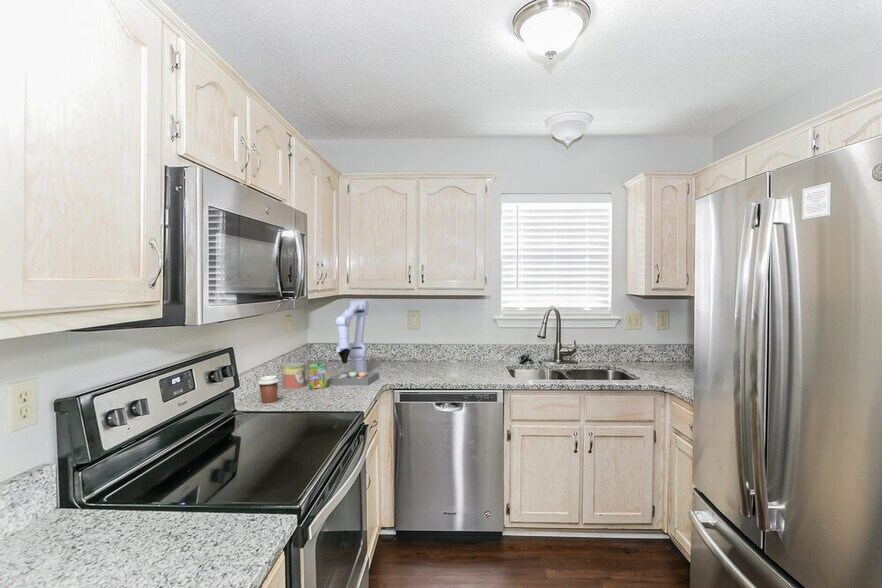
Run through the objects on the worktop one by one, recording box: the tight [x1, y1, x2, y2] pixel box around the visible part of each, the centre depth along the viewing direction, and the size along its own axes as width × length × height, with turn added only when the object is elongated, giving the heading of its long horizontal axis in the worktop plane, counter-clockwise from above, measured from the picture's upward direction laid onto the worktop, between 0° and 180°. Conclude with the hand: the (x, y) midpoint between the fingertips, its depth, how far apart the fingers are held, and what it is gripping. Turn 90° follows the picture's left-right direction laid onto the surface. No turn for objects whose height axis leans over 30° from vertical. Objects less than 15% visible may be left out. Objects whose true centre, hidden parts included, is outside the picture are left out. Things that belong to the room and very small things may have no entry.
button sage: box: [348, 371, 357, 377], centre depth 238 cm, size 4×4×3 cm
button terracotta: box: [359, 372, 366, 377], centre depth 236 cm, size 4×4×3 cm
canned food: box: [281, 361, 307, 390], centre depth 232 cm, size 11×11×12 cm
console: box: [328, 371, 380, 386], centre depth 240 cm, size 16×22×4 cm
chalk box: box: [307, 358, 329, 390], centre depth 230 cm, size 9×9×15 cm
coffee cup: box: [257, 375, 280, 406], centre depth 201 cm, size 9×9×12 cm
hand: (344, 363), depth 238 cm, fingers closed
